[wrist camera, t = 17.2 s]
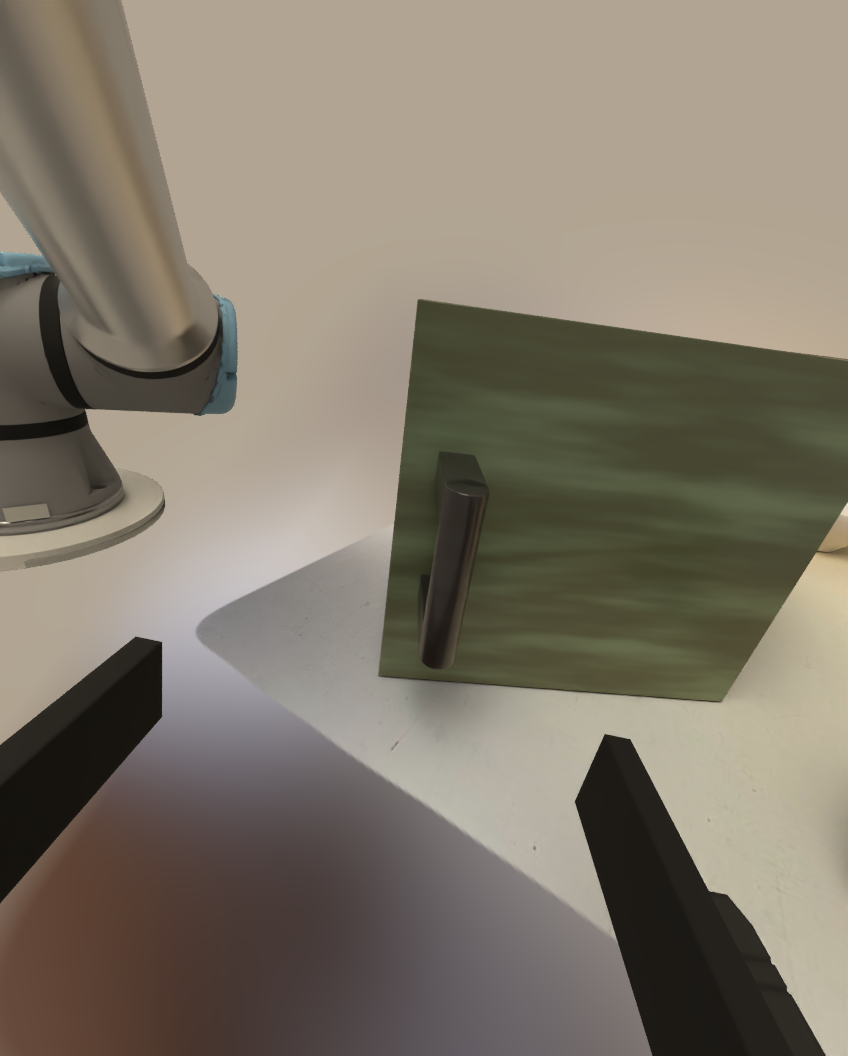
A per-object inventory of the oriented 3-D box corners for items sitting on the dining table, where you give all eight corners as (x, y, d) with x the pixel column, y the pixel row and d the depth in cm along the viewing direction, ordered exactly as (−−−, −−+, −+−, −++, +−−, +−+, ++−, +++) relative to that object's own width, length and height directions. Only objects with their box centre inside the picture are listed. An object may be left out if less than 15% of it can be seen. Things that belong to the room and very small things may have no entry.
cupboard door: (782, 778, 27) (1102, 392, 16) (370, 753, 25) (419, 292, 14) (713, 691, 33) (910, 370, 22) (379, 665, 31) (417, 299, 20)
